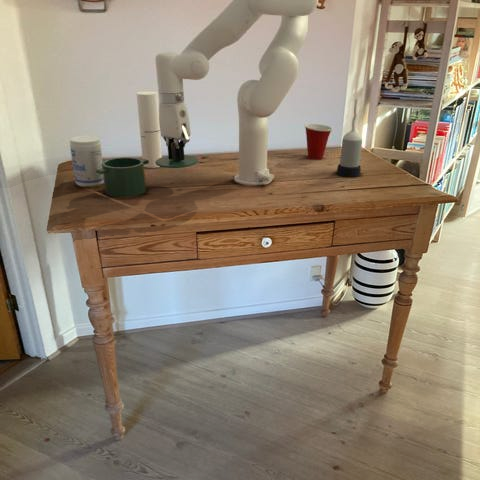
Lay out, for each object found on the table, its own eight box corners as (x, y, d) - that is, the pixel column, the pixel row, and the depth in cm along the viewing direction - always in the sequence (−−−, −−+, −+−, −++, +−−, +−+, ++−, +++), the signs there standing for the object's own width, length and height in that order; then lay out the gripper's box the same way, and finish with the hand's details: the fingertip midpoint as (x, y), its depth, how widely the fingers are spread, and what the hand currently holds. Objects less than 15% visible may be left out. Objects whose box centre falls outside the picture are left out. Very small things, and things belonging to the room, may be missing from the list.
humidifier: (337, 170, 191) (344, 96, 178) (360, 171, 190) (369, 97, 177) (336, 176, 184) (344, 100, 171) (359, 177, 183) (369, 101, 170)
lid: (206, 163, 169) (205, 142, 165) (174, 172, 160) (172, 150, 157) (179, 156, 177) (177, 135, 173) (147, 164, 169) (144, 143, 165)
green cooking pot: (160, 190, 169) (158, 161, 164) (113, 203, 158) (109, 172, 153) (137, 182, 177) (134, 153, 172) (90, 194, 166) (86, 164, 161)
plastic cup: (331, 161, 202) (334, 128, 195) (303, 161, 202) (306, 128, 195) (328, 154, 211) (331, 123, 205) (301, 154, 211) (303, 122, 205)
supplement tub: (69, 185, 173) (62, 140, 165) (87, 178, 180) (80, 134, 173) (94, 189, 170) (88, 142, 162) (111, 181, 177) (105, 136, 170)
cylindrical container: (158, 168, 192) (153, 95, 179) (140, 167, 193) (133, 94, 180) (164, 163, 198) (160, 91, 185) (146, 162, 199) (141, 91, 186)
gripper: (198, 99, 156) (202, 161, 165) (164, 94, 165) (169, 153, 175) (179, 103, 151) (184, 166, 161) (145, 97, 161) (151, 157, 171)
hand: (176, 159), depth 168 cm, fingers closed on lid, 2 cm apart
